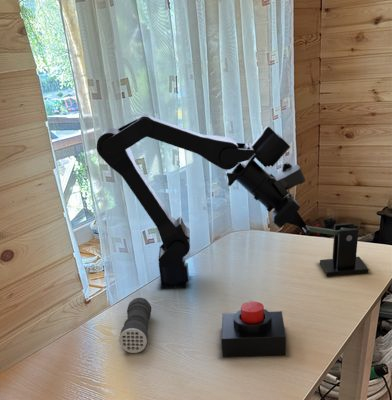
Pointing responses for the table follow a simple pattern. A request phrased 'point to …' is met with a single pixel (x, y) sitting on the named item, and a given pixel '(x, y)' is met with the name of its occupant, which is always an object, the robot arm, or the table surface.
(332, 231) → the switch lever
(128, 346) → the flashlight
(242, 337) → the stop box
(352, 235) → the switch bracket
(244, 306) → the stop button
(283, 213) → the robot arm
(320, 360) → the table surface
